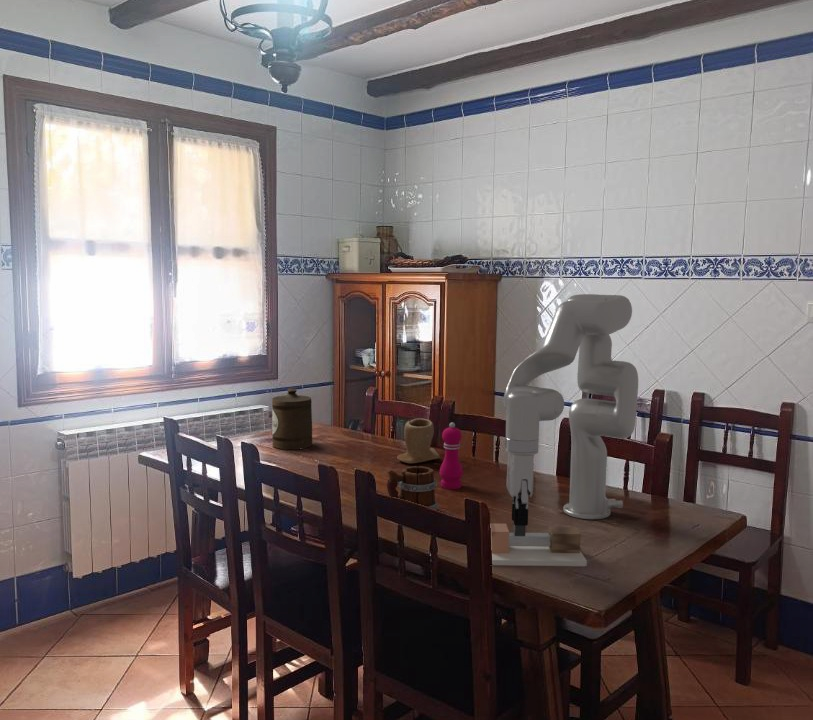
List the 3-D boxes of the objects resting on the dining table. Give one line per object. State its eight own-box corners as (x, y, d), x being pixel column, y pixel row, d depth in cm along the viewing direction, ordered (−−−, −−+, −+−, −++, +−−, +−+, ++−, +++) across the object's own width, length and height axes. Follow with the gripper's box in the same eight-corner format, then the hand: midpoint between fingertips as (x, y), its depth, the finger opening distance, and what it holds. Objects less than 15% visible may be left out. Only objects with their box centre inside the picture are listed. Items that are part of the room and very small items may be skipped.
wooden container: (279, 440, 289) (278, 384, 286) (316, 442, 287) (316, 385, 284) (267, 449, 274) (266, 390, 271) (306, 450, 272) (305, 391, 269)
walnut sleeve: (575, 546, 176) (576, 527, 175) (579, 553, 171) (580, 534, 171) (547, 545, 176) (548, 526, 175) (551, 552, 171) (552, 533, 171)
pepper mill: (461, 490, 224) (462, 425, 222) (437, 488, 226) (438, 424, 223) (464, 483, 231) (465, 420, 229) (441, 482, 233) (442, 419, 230)
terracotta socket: (505, 544, 176) (506, 523, 176) (508, 553, 171) (509, 531, 170) (488, 544, 176) (489, 523, 176) (491, 553, 171) (491, 531, 170)
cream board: (573, 543, 181) (573, 538, 181) (586, 566, 167) (586, 561, 167) (482, 542, 181) (482, 537, 181) (488, 565, 167) (488, 559, 167)
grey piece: (562, 543, 175) (563, 503, 174) (564, 546, 172) (565, 506, 171) (502, 542, 175) (503, 502, 174) (503, 546, 172) (504, 505, 171)
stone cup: (412, 468, 249) (412, 424, 247) (392, 460, 259) (393, 418, 257) (448, 462, 258) (448, 419, 256) (428, 455, 267) (428, 414, 266)
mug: (449, 513, 201) (442, 461, 199) (404, 530, 195) (395, 477, 192) (428, 502, 212) (421, 452, 209) (384, 517, 205) (376, 466, 203)
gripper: (501, 437, 179) (499, 511, 181) (510, 453, 163) (508, 534, 165) (532, 437, 179) (529, 512, 181) (544, 454, 163) (542, 535, 165)
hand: (519, 522), depth 173 cm, fingers closed on grey piece, 2 cm apart
